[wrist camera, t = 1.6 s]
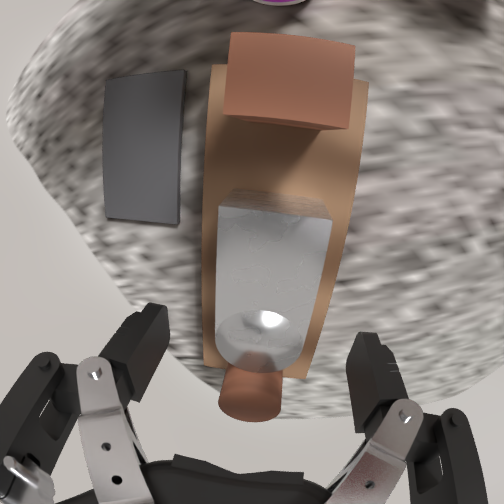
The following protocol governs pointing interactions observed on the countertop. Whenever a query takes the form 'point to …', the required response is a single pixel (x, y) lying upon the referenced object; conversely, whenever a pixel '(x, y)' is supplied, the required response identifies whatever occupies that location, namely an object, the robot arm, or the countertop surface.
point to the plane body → (279, 171)
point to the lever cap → (267, 276)
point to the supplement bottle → (279, 2)
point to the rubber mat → (143, 146)
